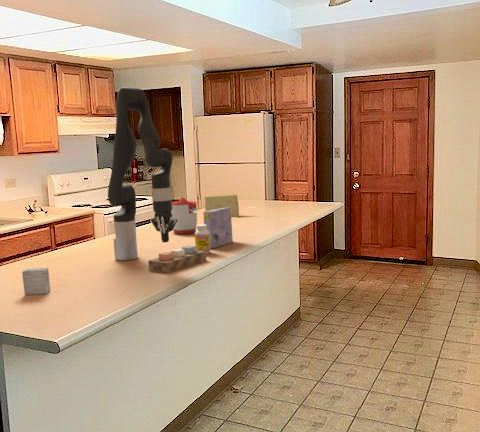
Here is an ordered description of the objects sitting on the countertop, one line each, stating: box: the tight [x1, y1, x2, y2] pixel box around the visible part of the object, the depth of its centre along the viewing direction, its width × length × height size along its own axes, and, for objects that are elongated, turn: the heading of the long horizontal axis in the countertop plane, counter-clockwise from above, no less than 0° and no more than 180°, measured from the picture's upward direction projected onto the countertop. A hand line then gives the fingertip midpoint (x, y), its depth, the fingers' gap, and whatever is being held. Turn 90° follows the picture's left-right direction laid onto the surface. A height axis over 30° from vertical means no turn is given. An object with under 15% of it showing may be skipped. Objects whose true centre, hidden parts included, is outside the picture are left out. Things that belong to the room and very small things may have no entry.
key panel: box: [147, 250, 207, 274], centre depth 224 cm, size 24×10×4 cm, turn 143°
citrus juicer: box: [171, 196, 199, 235], centre depth 301 cm, size 16×17×20 cm
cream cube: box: [170, 248, 185, 258], centre depth 224 cm, size 4×4×4 cm
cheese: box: [204, 193, 240, 218], centre depth 355 cm, size 22×10×15 cm, turn 67°
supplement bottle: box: [194, 223, 211, 254], centre depth 246 cm, size 7×7×13 cm
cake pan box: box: [202, 207, 234, 249], centre depth 262 cm, size 19×5×18 cm, turn 149°
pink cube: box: [158, 251, 173, 261], centre depth 219 cm, size 4×4×4 cm
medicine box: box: [21, 267, 51, 296], centre depth 192 cm, size 8×4×9 cm, turn 92°
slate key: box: [181, 245, 196, 254], centre depth 230 cm, size 4×4×4 cm
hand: (165, 242), depth 218 cm, fingers closed
